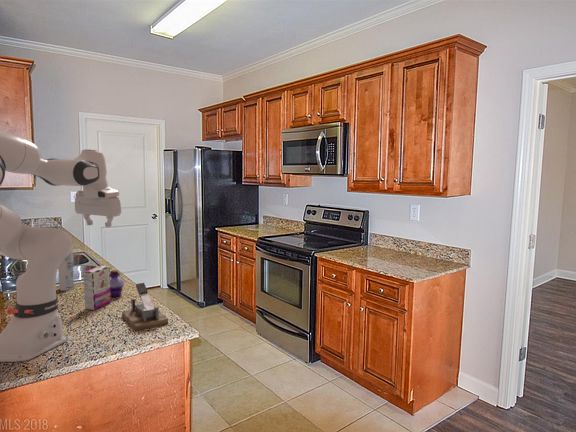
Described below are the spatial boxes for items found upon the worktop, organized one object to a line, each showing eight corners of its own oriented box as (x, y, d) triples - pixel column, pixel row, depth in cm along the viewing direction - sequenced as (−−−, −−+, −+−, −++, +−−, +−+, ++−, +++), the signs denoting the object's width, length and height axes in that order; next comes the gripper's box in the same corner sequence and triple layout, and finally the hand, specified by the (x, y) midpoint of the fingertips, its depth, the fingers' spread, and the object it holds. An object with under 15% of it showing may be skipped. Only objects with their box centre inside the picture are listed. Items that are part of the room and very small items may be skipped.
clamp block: (158, 319, 147) (158, 306, 147) (143, 322, 144) (143, 309, 143) (145, 308, 160) (145, 296, 159) (131, 310, 156) (130, 298, 156)
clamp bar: (154, 310, 147) (154, 308, 146) (146, 312, 145) (146, 309, 144) (143, 285, 156) (143, 282, 155) (135, 286, 154) (136, 283, 153)
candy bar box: (101, 301, 174) (100, 265, 172) (111, 302, 173) (110, 266, 171) (84, 309, 163) (82, 271, 161) (94, 310, 162) (93, 272, 160)
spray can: (68, 290, 188) (66, 250, 186) (56, 290, 189) (54, 250, 187) (77, 287, 195) (75, 247, 193) (64, 286, 195) (62, 247, 193)
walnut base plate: (168, 323, 149) (168, 318, 148) (136, 330, 141) (135, 325, 141) (152, 310, 163) (152, 305, 162) (122, 316, 155) (122, 311, 155)
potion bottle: (100, 297, 179) (99, 271, 178) (114, 292, 187) (113, 267, 186) (115, 299, 176) (114, 273, 175) (129, 294, 184) (128, 269, 183)
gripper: (68, 191, 152) (72, 225, 155) (110, 194, 146) (113, 229, 148) (81, 189, 158) (85, 222, 161) (122, 191, 152) (125, 226, 154)
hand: (99, 225), depth 155 cm, fingers open, 8 cm apart
